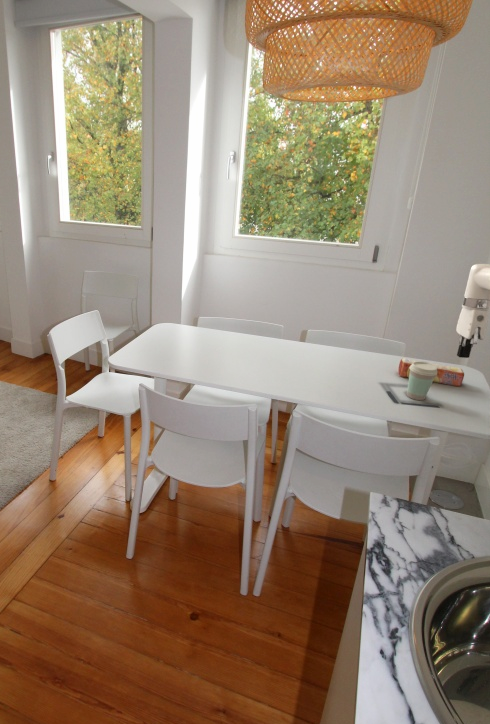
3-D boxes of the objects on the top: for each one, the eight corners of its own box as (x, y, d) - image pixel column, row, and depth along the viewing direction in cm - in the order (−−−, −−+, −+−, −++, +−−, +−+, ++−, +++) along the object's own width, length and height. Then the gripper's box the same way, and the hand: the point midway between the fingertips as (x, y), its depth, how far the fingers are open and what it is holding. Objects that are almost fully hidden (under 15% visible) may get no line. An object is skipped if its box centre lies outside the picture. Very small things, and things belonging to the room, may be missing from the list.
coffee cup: (428, 394, 168) (437, 363, 163) (430, 404, 161) (440, 372, 156) (401, 388, 171) (410, 358, 166) (402, 398, 164) (411, 367, 159)
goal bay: (439, 407, 158) (439, 407, 157) (394, 404, 160) (394, 403, 160) (421, 388, 173) (422, 387, 173) (381, 385, 175) (381, 384, 175)
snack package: (458, 381, 179) (463, 365, 176) (461, 389, 173) (466, 372, 170) (396, 371, 186) (401, 355, 183) (397, 378, 181) (402, 362, 178)
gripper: (501, 308, 144) (485, 365, 150) (477, 299, 158) (464, 350, 164) (474, 307, 145) (460, 363, 151) (453, 298, 159) (441, 349, 165)
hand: (462, 356), depth 158 cm, fingers closed
